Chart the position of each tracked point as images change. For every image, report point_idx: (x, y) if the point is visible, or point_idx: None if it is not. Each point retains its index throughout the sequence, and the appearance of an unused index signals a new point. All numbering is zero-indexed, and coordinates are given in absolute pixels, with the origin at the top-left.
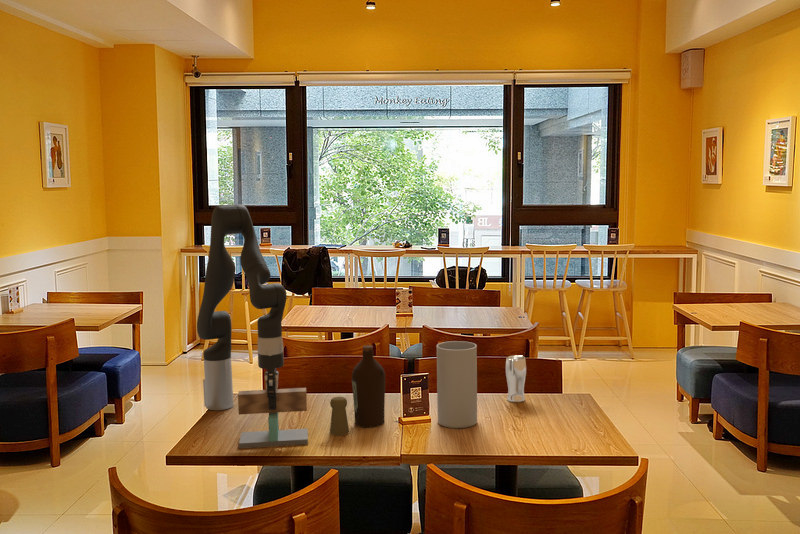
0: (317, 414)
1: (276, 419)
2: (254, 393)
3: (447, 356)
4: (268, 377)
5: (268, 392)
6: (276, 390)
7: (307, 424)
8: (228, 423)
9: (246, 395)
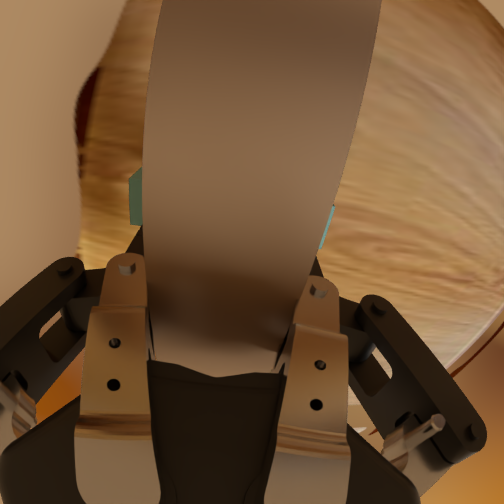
0: (408, 310)
1: (132, 218)
2: (167, 122)
3: None
4: (3, 451)
5: (23, 298)
6: (232, 349)
7: (352, 284)
8: (474, 68)
9: (165, 13)
